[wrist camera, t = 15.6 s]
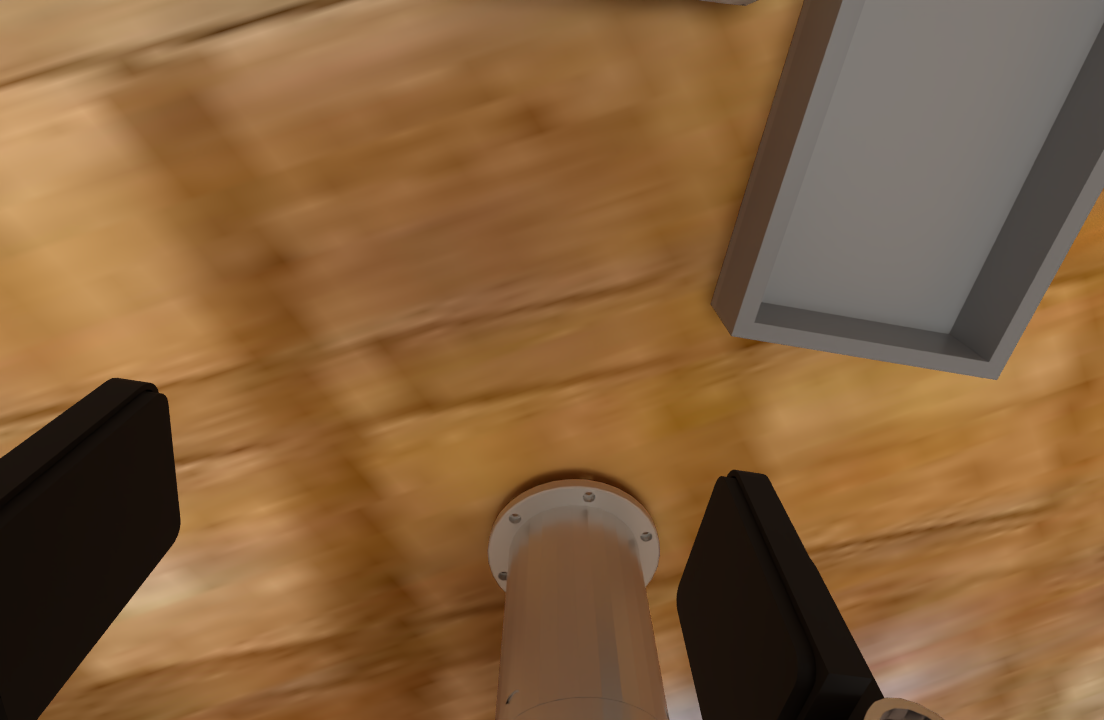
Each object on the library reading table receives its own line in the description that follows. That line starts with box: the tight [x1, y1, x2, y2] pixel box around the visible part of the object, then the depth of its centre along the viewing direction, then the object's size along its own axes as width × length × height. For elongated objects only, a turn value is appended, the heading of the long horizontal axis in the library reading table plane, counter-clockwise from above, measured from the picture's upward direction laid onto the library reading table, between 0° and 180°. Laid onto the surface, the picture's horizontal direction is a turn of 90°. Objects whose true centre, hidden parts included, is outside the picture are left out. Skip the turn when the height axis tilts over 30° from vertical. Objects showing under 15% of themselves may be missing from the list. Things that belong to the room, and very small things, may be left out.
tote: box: [711, 0, 1104, 380], centre depth 32 cm, size 26×16×5 cm, turn 170°
